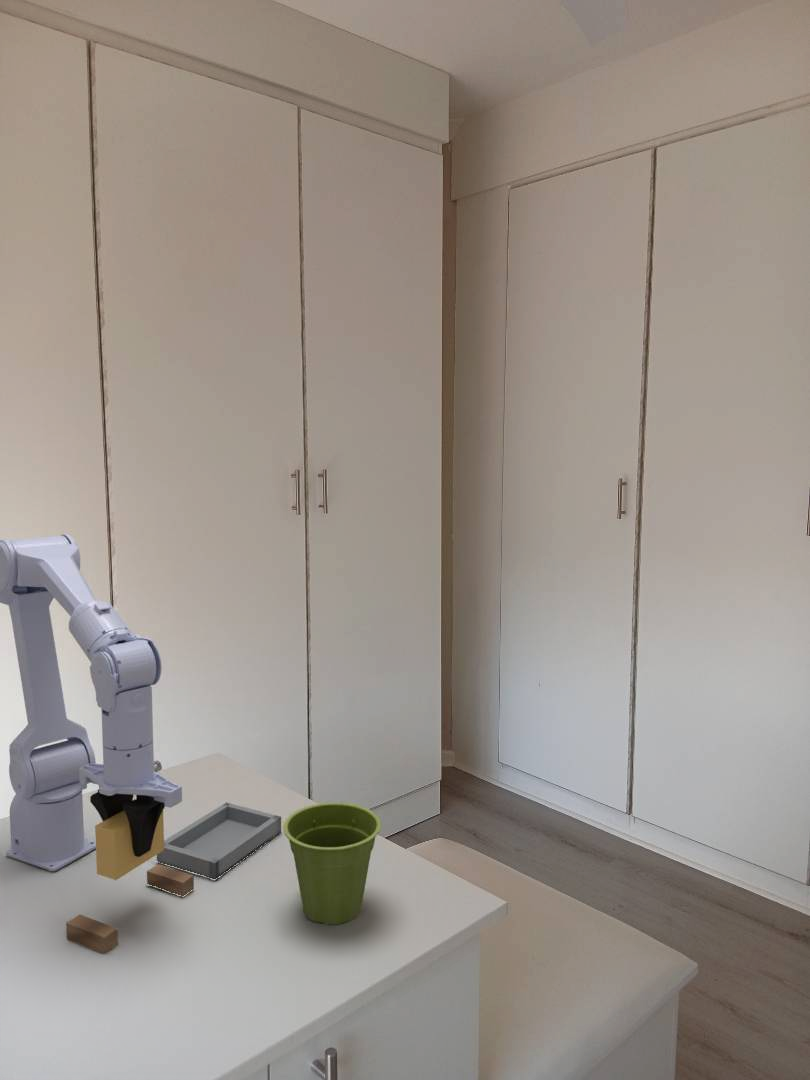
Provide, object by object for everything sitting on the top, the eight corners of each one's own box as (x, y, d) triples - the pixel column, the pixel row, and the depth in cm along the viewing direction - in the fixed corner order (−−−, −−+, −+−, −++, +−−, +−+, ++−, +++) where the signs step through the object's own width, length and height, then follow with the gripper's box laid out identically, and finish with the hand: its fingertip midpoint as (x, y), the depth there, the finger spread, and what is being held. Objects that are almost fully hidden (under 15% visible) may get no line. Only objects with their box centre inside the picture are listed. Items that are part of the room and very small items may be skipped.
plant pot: (263, 914, 104) (262, 827, 102) (329, 874, 113) (329, 794, 111) (335, 951, 97) (336, 858, 95) (399, 905, 106) (400, 820, 104)
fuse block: (96, 873, 100) (95, 825, 99) (145, 844, 107) (144, 799, 106) (115, 880, 98) (114, 831, 97) (164, 850, 105) (162, 804, 104)
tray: (156, 862, 115) (156, 845, 115) (226, 818, 129) (226, 802, 128) (215, 880, 111) (214, 863, 111) (281, 832, 124) (281, 816, 124)
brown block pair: (66, 939, 98) (66, 923, 98) (158, 878, 111) (157, 864, 111) (104, 953, 95) (104, 937, 95) (193, 890, 109) (193, 875, 108)
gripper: (57, 741, 100) (61, 849, 102) (150, 764, 94) (153, 879, 96) (102, 723, 106) (106, 825, 108) (193, 743, 100) (195, 852, 102)
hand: (131, 849), depth 102 cm, fingers closed on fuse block, 3 cm apart
